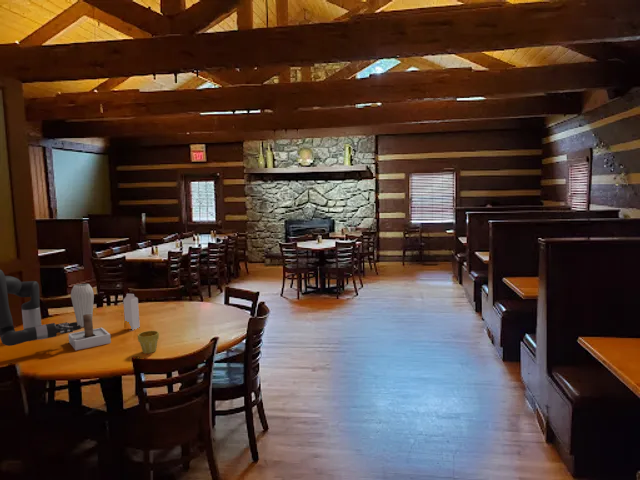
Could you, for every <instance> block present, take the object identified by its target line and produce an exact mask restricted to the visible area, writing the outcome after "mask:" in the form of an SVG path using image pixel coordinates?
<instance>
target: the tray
mask: <svg viewBox="0 0 640 480" xmlns="http://www.w3.org/2000/svg"><path fill="white" fill-rule="evenodd" d="M67 335H68V342H69V344H70V345H71V347H72V348H73V349H74V350H75V351H79V350H83V349H84V350H85V349H89V348H93V347H94V348H95V347H97V346H98V347H99V346H102V345H108V344H111V343H112V340H111V337H112V336H111V333H110V332H108V330H106V329H105V328H103V327H98V328H93V335H94V336H93V337H88V338H85V332H84V330H81V331H76V332H70V333H67Z"/></svg>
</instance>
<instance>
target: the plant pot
mask: <svg viewBox="0 0 640 480" xmlns="http://www.w3.org/2000/svg"><path fill="white" fill-rule="evenodd" d="M159 333H160V332H159V331H157V330H146V331H142V332H140V333H138V334H137V340H138V341H137V342H139V344H140V347H141V351H142V353H143V354H146V353H147V354H153V353H156V351H157V347H158V340H159V339H160V334H159ZM152 352H153V353H152Z"/></svg>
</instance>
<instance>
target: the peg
mask: <svg viewBox="0 0 640 480" xmlns="http://www.w3.org/2000/svg"><path fill="white" fill-rule="evenodd" d="M83 320H84V327H83V328H84V329H83V331H84V332H85V338H88V337H93V336H94V335H93V329H94V324H93V316H92V314H86V315H83Z"/></svg>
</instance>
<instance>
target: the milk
mask: <svg viewBox="0 0 640 480" xmlns="http://www.w3.org/2000/svg"><path fill="white" fill-rule="evenodd" d="M122 301H123V312H124V322H125V321H127V322H129V324H130V326H131V329H132V330H131V331H135V330H137V328H138V329H140V328H141V327H140V326H141V325H140V324H141V323H140V310H139V298H138V297H137V296H135V294H134V293H126V295H125V297H124V298H123V299H122ZM139 327H140V328H139ZM134 329H135V330H134Z"/></svg>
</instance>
